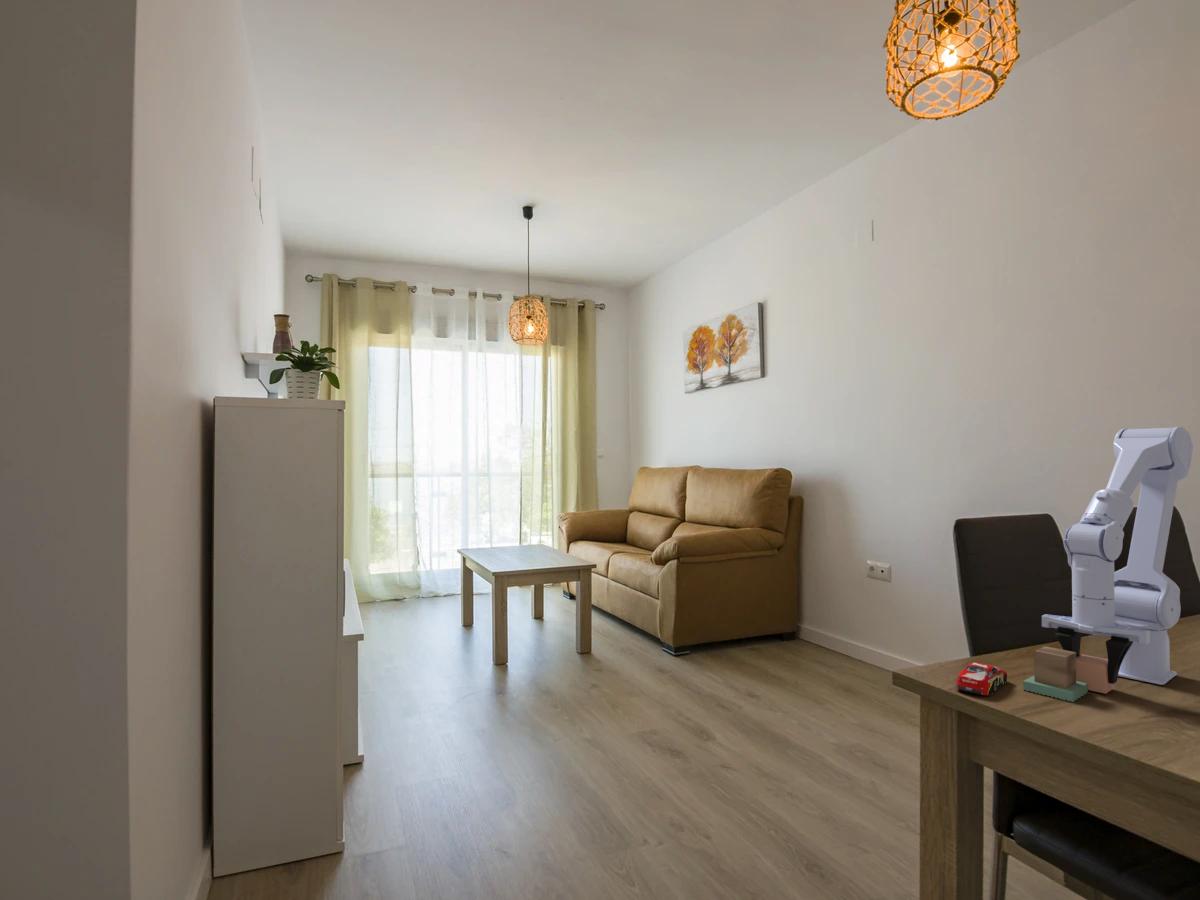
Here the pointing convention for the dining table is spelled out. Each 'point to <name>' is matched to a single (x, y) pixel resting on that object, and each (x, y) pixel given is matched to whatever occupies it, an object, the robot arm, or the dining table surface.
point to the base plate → (1056, 689)
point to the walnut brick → (1055, 667)
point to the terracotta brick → (1093, 673)
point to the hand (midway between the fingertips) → (1093, 678)
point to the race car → (980, 678)
